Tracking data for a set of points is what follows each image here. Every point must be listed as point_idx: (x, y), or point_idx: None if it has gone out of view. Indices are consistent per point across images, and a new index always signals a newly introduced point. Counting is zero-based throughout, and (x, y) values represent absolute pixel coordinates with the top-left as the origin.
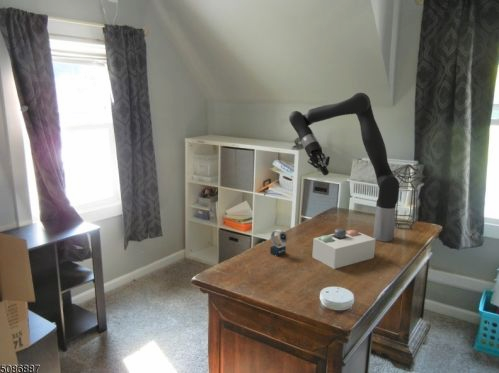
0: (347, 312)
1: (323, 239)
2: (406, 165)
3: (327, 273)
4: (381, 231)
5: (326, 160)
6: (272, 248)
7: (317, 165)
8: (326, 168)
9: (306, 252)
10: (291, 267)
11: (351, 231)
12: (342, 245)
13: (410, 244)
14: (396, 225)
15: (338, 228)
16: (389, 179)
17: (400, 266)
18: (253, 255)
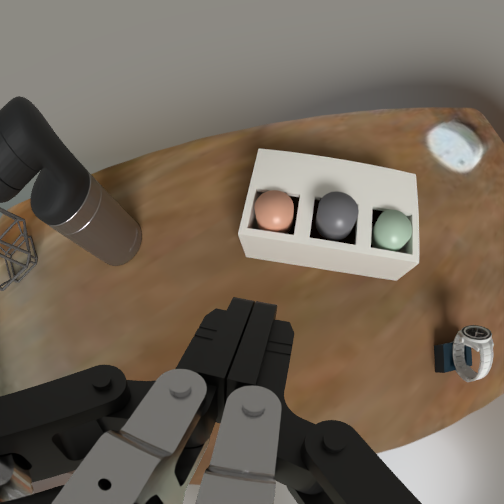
0: (462, 119)
1: (410, 226)
2: None
3: (423, 199)
4: (128, 220)
5: (26, 444)
6: (470, 357)
7: (359, 454)
8: (210, 343)
9: (386, 314)
10: (469, 269)
11: (277, 210)
12: (383, 175)
13: (116, 181)
14: (32, 261)
15: (329, 223)
16: (27, 103)
17: (257, 129)
18: (493, 376)
